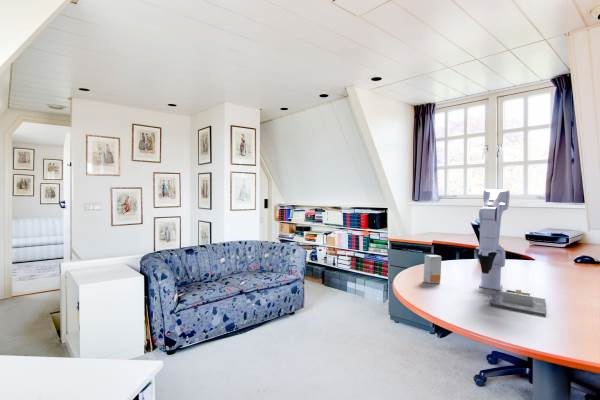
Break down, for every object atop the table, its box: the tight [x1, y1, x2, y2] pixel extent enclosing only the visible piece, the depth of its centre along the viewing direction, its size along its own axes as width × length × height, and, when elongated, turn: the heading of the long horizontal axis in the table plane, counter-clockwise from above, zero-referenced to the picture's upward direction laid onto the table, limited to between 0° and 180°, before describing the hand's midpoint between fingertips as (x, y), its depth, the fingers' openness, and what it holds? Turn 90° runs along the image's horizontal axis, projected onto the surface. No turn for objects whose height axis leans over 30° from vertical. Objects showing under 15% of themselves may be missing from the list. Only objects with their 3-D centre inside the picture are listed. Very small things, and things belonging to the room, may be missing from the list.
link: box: [502, 288, 534, 305], centre depth 122 cm, size 9×5×3 cm, turn 54°
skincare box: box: [423, 254, 443, 284], centre depth 149 cm, size 6×4×12 cm
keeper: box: [489, 289, 547, 318], centre depth 122 cm, size 20×16×5 cm
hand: (486, 271), depth 131 cm, fingers open, 7 cm apart
